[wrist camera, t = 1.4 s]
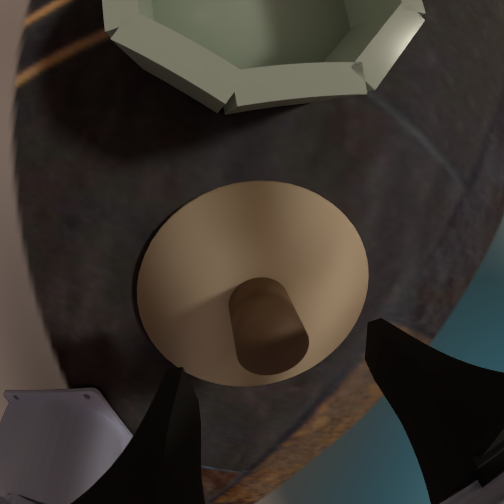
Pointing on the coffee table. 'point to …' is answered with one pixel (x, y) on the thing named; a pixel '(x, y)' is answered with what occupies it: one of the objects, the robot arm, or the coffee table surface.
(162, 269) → the lid
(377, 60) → the bowl
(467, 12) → the coffee table surface
